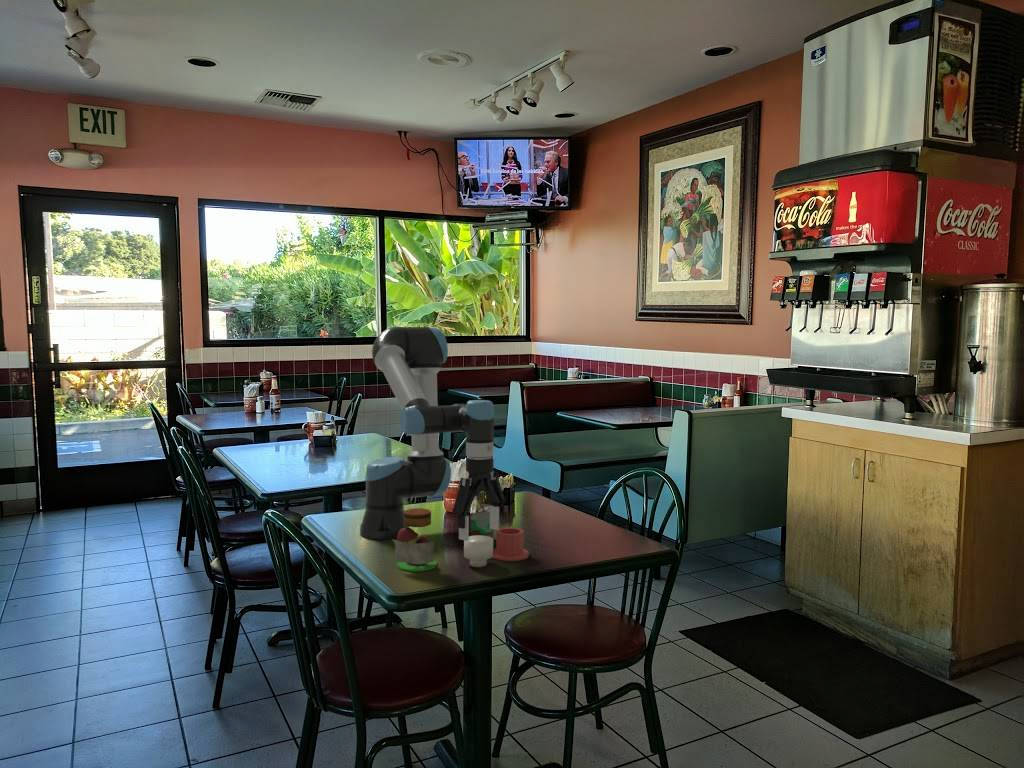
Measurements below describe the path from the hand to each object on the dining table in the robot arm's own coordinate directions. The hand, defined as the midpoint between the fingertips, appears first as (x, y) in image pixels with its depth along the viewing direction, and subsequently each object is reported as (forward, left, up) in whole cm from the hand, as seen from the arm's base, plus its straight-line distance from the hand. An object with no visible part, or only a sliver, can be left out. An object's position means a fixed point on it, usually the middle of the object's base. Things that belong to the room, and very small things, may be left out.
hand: (479, 534), depth 205 cm
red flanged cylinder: (+2, +12, -9) cm, 15 cm away
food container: (-12, +19, -9) cm, 24 cm away
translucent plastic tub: (-13, -11, -9) cm, 19 cm away
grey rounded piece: (0, 0, -9) cm, 9 cm away
